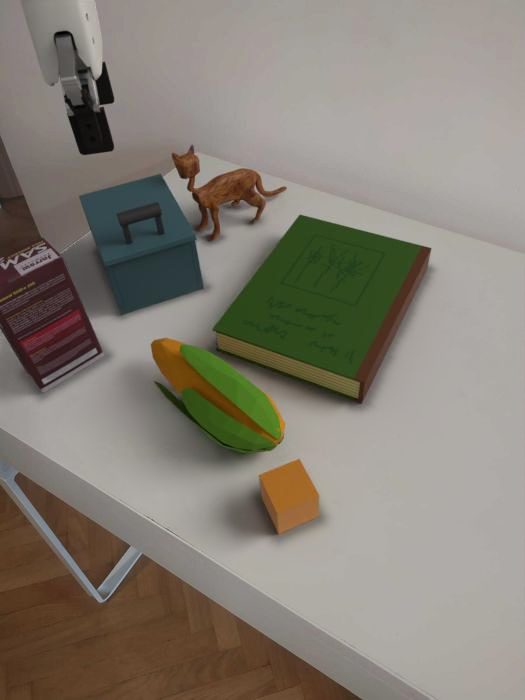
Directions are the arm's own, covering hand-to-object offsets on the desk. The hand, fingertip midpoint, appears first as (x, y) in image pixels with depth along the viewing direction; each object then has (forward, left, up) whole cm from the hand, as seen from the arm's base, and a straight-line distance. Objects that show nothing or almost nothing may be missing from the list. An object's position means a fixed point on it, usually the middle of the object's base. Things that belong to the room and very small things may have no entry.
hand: (98, 126), depth 57 cm
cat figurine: (+18, +13, -25) cm, 33 cm away
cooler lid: (+2, +7, -16) cm, 18 cm away
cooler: (+2, +7, -25) cm, 26 cm away
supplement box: (-12, -5, -25) cm, 28 cm away
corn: (+2, -19, -25) cm, 32 cm away
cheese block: (+5, -33, -25) cm, 42 cm away
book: (+21, -10, -25) cm, 34 cm away
